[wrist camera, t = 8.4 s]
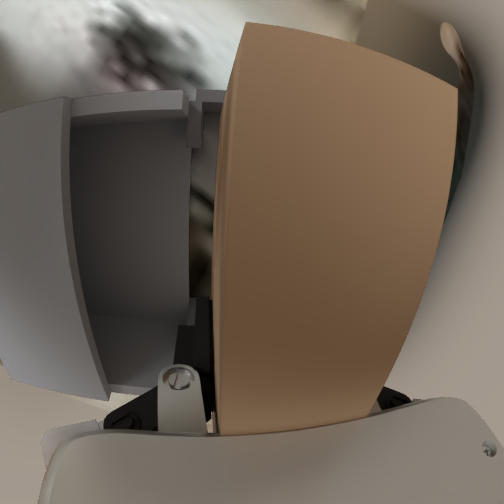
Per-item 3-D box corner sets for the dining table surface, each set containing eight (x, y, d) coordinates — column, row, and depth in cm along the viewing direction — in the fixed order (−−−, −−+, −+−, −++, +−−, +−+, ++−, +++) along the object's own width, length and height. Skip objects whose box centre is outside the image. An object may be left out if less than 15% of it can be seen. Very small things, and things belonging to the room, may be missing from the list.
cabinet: (32, 117, 18) (-47, 118, 8) (270, 107, 22) (317, 83, 11) (55, 318, 26) (14, 385, 16) (249, 328, 29) (269, 411, 19)
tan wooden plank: (220, 115, 12) (245, 21, 2) (305, 124, 13) (498, 115, 3) (211, 394, 19) (222, 534, 9) (268, 392, 19) (301, 525, 9)
